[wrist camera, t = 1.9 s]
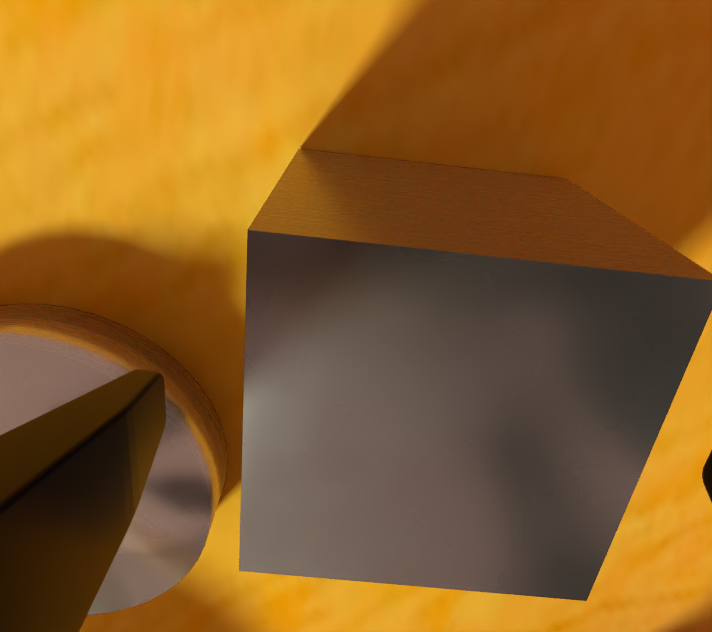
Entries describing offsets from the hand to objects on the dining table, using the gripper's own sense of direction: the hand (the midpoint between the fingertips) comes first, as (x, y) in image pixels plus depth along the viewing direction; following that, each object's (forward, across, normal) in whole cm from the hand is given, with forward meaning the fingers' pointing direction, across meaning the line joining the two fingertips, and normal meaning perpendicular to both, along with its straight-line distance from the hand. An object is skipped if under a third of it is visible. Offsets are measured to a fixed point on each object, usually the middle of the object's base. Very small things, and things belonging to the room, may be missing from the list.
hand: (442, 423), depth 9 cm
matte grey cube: (+5, 0, 0) cm, 5 cm away
